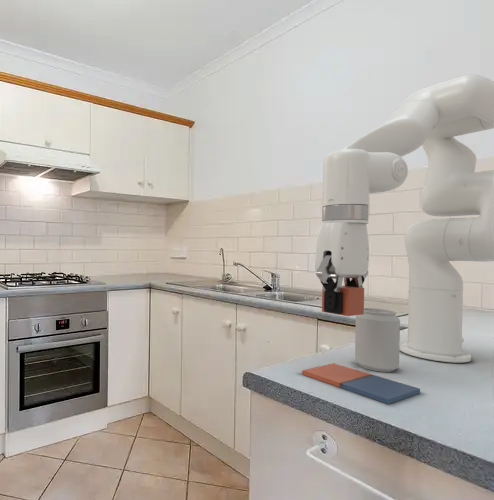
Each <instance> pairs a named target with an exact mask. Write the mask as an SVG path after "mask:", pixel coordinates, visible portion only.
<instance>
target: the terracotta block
mask: <svg viewBox="0 0 494 500" xmlns="http://www.w3.org/2000/svg"><path fill="white" fill-rule="evenodd" d="M321 290H322V293H321V294H322V295H321V312H322V313H327V314H330V313H329V312H325V311H324V291H323V286H322V289H321ZM340 292H343V311H342V314H337V315H339V316H344V317H352V316H356V315H362V314H364V308H365V287H363V288H361V287H351V286H345V285H341V290H340ZM331 314H332V315H333V314H334V315H336V314H335V313H331Z"/></svg>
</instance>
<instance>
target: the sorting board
mask: <svg viewBox="0 0 494 500" xmlns="http://www.w3.org/2000/svg"><path fill="white" fill-rule="evenodd" d="M301 375H303V376H306V377H309V378H312V379H314V380H318V381H320V382H324V383H325V384H329V385H331V386H335V387H338V388H340V389H344V390H346V391H349V392H351V393H354V394H358V395H361V396H363V397H366V398H369V399H372V400H375V401H378V402H381V403H384V404H387V405H391V404H393V403H396V402H399V401H402V400H405V399H409V398H410V397H414V396H416V395H419V394H421V388H419V387H416V386H413V385H409V384H406V383H402V382H399V381H396V380H392V379H388V378H385V377H382V376H379V375H376V374H372V373H369V372H365V371H361V370H359V369H354V368H352V367H348V366H345V365H342V364H338V363H334V362H333V363H329V364H325V365H319V366H315V367H310V368H306V369H302V371H301Z"/></svg>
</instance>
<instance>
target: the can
mask: <svg viewBox="0 0 494 500" xmlns="http://www.w3.org/2000/svg"><path fill="white" fill-rule="evenodd" d="M396 314H397V312H396V311H395V310H391V309H385V308H377V307H364V314H362V315H355V330H354V331H355V334H354V335H355V336H354V340H355V341H354V361H355V362H356V363H357V364H358V365H359V366H360V367H361V368H364V369H367V370H370V371H374V372H381V373H391V372H394V371H395V370H397V369H399V368H400V349H399V347H400V343H401V342H400V340H401V319H399V317H398V316H397V315H396Z"/></svg>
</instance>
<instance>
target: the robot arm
mask: <svg viewBox="0 0 494 500" xmlns="http://www.w3.org/2000/svg"><path fill="white" fill-rule="evenodd" d="M492 129H494V80H492V79H490V78H488V77H485V76H483V75H479V74H464V75H460V76H457V77H454V78H451V79H448V80H445V81H441V82H438V83H436V84H432V85H429V86H426V87H423V88H420V89H418V90H416V91H413V92H412V93H410V94H409V95H408V96H406V97H405V99H404V100H403V101H402V102H401V103H400V104H399V106H398V107H397V108H396V109H395V110H394V111H393V113H392V114H391V115H390V116H389V117H388V118H387V119H386V121H385V122H384V123H383V124H381V125H379V126H377V127H375V128H374V129H372V130H371V131H369V132H367V133H366V134H364V135H362V136H361V137H359V138H357V139H355V140H354V141H352V142H351V143H349V144H347V145H346V146H345V147H343V149H338V150H334V151H331V152H329V153H328V154H327V155H326V156H325V157H324V160H323V166H322V167H323V168H322V201H321V202H322V205H321V206H322V207H321V223H320V225H319V228H318V234H317V239H316V246H315V248H316V249H315V257H314V258H315V260H314V272H315V275H316V277H317V278H318V279H319V281H320V283H321V285H322V287H323V291H324V311H325V312H324V313H326V312H329V313H328V314H332V313H335V314H334V315H338V314H342V311H343V292H340V290H341V286H343V284H344V286H351V287H361V288H364V285H363V284H364V283H365V280H366V278H367V276H368V275H369V262H370V250H369V249H370V248H369V234H368V227H367V225H368V224H369V211H370V209H369V208H370V194H377V193H385V192H390V191H393V190H396V189H398V188H400V186H402V185H404V183H405V182H406V180H407V178H408V174H409V168H408V164H407V162H406V161H405V159H404V158H403V157H404V156H406V155H409V154H411V153H413V152H415V151H416V150H418V149H419V148H420V147H422V148H423V150H424V152H425V155H426V157H427V169H426V175H425V178H424V179H425V180H424V184H423V190H422V193H421V200H420V202H421V203H420V204H421V210H422V211H423V213H425V214H426V215H428V216H431V217H442V218H431V219H424V220H420V221H419V220H418V221H416V222H414V223H412V224H411V225H409V226H408V227H407V229H406V230H405V232H404V246H405V250H406V256H407V262H408V306H407V307H408V313H407V342H404V343H401V344H400V347H399V351H400V352H401V353H404V354H406V355H409V356H412V357H416V358H420V359H425V360H429V361H436V362H443V363H453V364H454V363H455V364H457V363H458V364H460V363H461V364H462V363H463V364H464V363H470V362H471V361H472V355H471V354H470V353H469V352H467V351H463V350H462V349H463V347H462V345H463V343H464V342H465V339H464V337H463V306H464V304H463V303H464V281H463V278H462V276H461V274H460V273H459V271H458V270H457V269H456V268H455V267H454V265H452V263H451V262H485V263H486V262H494V169H491V170H481V171H476V165H477V156H476V154H475V152H474V151H473V150H472V149H470V147H469V146H467V145H465V144H464V143H462V142H460V141H459V140H457V139H456V138H455V137H459V136H463V135H464V136H465V135H468V134H473V133H479V132H483V131H487V130H492ZM463 216H464V217H463ZM465 216H471V217H465ZM472 216H473V217H472ZM475 216H476V217H475ZM443 217H450V218H443Z"/></svg>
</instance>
